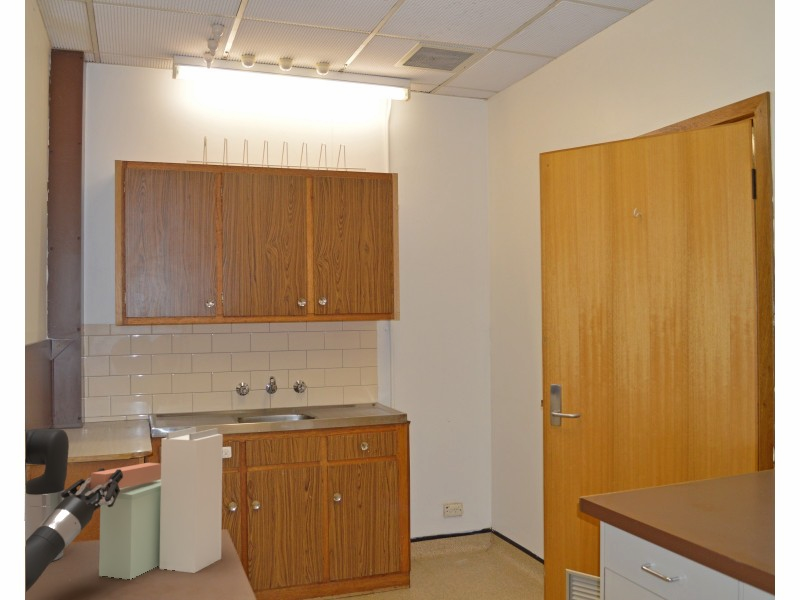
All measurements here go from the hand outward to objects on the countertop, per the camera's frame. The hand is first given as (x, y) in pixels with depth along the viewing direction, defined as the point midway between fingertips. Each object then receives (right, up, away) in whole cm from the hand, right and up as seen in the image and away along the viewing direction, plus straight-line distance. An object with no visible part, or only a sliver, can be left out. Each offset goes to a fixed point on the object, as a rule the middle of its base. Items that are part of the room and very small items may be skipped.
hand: (112, 471), depth 173 cm
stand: (+16, -26, +11) cm, 32 cm away
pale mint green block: (+3, -26, +9) cm, 28 cm away
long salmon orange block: (+2, -4, +5) cm, 7 cm away
